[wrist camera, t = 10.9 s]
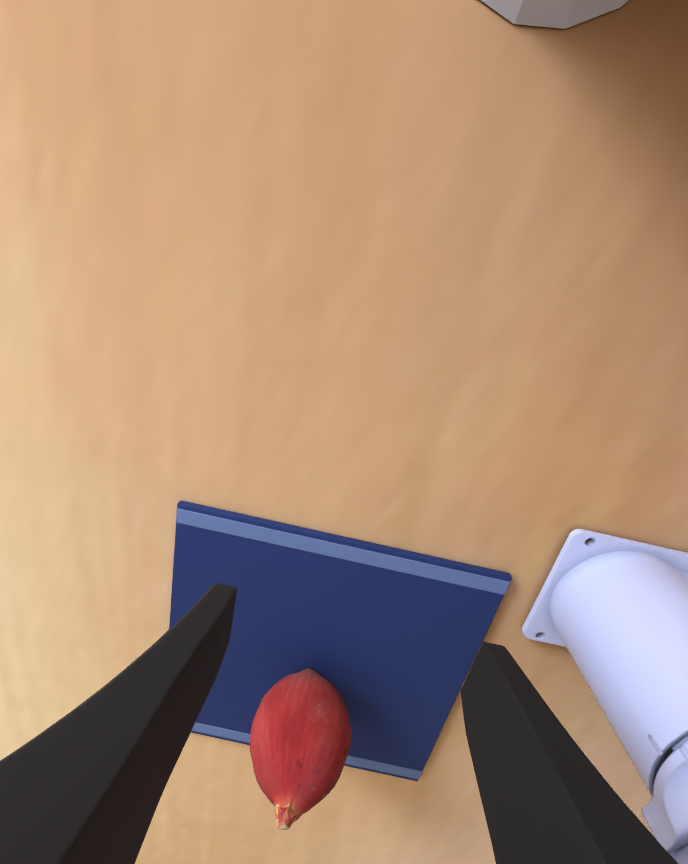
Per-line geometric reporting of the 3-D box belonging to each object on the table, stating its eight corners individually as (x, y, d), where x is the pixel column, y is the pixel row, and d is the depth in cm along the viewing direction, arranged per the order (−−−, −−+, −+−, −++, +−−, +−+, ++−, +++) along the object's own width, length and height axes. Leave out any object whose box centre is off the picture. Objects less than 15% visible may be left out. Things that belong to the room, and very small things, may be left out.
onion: (370, 672, 25) (371, 835, 17) (317, 713, 26) (296, 878, 19) (303, 626, 24) (272, 777, 16) (252, 672, 25) (203, 828, 18)
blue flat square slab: (509, 573, 22) (512, 578, 21) (417, 775, 28) (417, 782, 28) (180, 500, 22) (176, 504, 21) (165, 720, 28) (162, 727, 28)
